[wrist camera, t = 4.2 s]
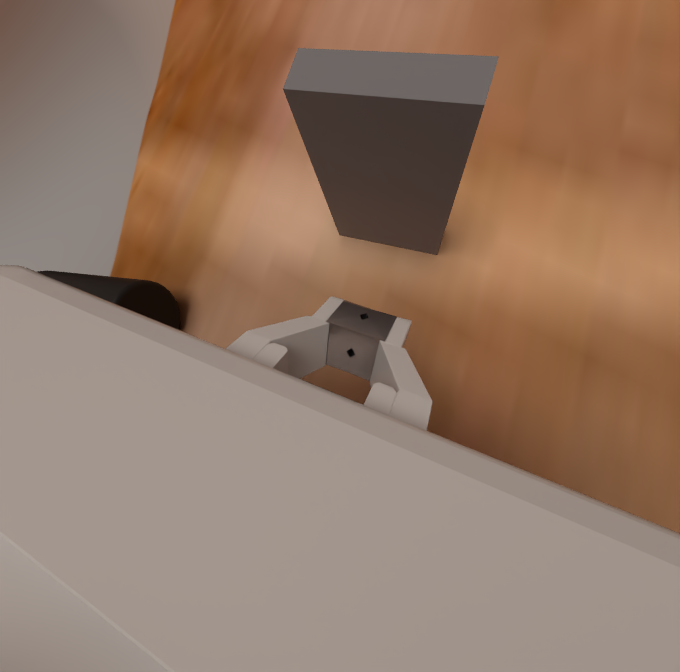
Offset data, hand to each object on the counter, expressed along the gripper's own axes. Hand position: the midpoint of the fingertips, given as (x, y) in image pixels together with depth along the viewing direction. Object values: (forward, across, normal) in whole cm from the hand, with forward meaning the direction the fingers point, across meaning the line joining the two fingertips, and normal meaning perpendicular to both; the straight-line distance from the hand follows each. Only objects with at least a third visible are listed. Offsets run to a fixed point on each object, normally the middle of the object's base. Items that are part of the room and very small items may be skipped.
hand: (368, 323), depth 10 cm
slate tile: (+14, +3, +1) cm, 15 cm away
